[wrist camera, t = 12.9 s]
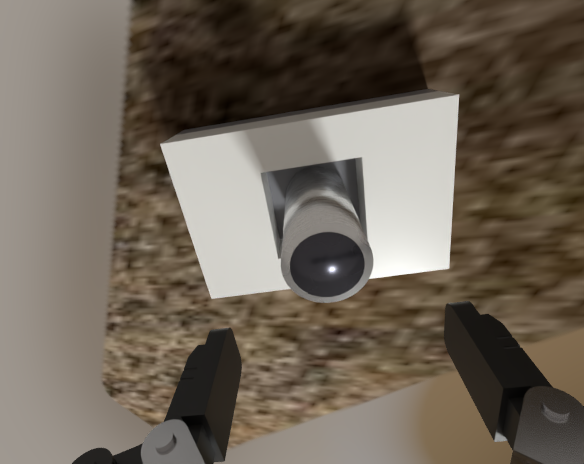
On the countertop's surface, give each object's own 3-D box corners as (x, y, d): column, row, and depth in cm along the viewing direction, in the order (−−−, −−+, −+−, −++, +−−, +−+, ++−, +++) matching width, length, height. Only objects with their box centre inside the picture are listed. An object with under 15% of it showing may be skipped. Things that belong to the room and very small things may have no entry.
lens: (342, 161, 24) (371, 217, 15) (348, 218, 26) (376, 298, 17) (281, 171, 25) (273, 231, 15) (291, 226, 26) (288, 309, 17)
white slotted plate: (428, 88, 24) (459, 94, 19) (425, 237, 29) (448, 268, 25) (184, 129, 25) (160, 144, 21) (223, 264, 30) (211, 298, 26)
